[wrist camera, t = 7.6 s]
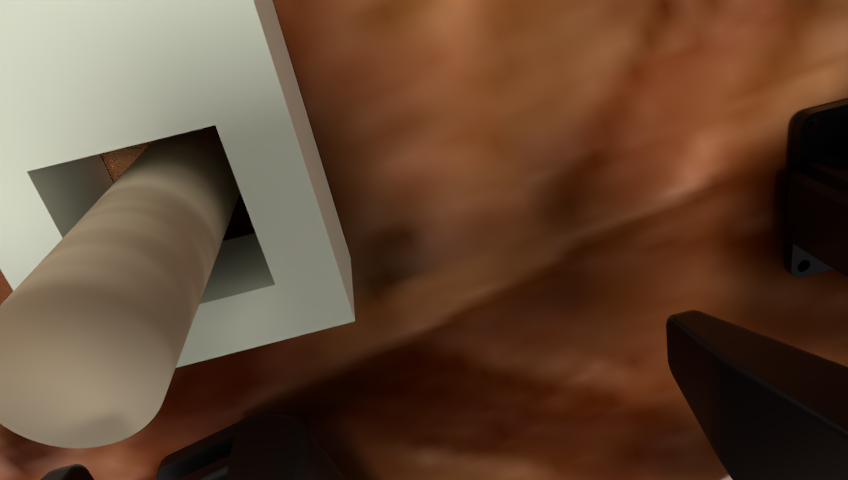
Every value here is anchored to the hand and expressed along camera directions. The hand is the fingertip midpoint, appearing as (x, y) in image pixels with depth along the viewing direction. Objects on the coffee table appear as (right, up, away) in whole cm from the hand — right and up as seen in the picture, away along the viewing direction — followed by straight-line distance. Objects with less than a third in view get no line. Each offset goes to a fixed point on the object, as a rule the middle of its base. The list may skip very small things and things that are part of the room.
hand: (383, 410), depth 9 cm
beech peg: (-7, +5, +10) cm, 13 cm away
